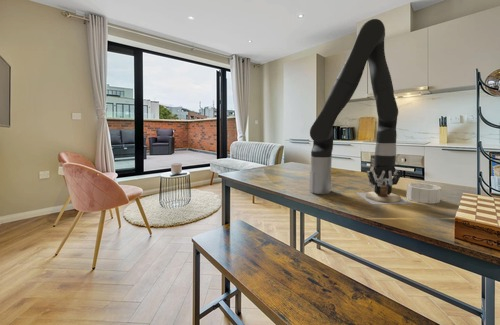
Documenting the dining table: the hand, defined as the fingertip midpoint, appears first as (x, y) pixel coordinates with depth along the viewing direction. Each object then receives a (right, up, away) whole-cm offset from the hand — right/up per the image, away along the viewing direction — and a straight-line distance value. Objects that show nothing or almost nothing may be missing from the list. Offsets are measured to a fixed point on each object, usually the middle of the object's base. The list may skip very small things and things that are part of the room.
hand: (382, 194), depth 98 cm
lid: (0, -2, 0) cm, 2 cm away
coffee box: (+8, 0, +18) cm, 19 cm away
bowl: (+15, -2, -2) cm, 15 cm away
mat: (0, -2, 0) cm, 2 cm away
